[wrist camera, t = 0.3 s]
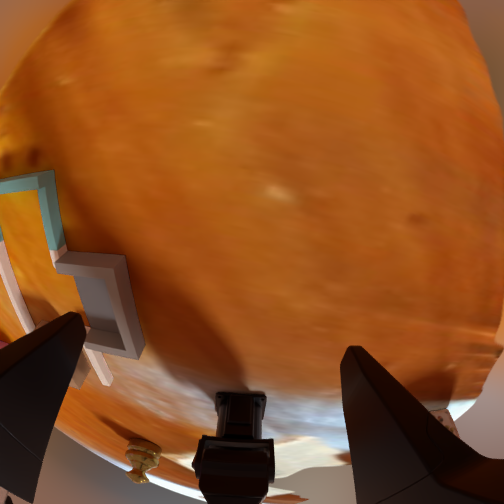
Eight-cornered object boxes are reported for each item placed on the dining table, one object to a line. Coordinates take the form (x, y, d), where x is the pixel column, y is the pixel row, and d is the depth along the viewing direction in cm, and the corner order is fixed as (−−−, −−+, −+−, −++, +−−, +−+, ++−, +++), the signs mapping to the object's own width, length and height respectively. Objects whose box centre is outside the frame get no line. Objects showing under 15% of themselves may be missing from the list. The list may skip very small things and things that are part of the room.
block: (91, 367, 32) (79, 389, 28) (62, 358, 32) (49, 378, 28) (72, 327, 28) (56, 350, 24) (42, 319, 28) (26, 339, 24)
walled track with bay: (159, 388, 32) (154, 402, 30) (48, 358, 32) (41, 368, 30) (114, 162, 19) (99, 168, 17) (-13, 182, 19) (-26, 188, 17)
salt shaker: (169, 452, 44) (161, 489, 35) (145, 451, 46) (136, 485, 37) (146, 437, 41) (135, 478, 33) (122, 436, 43) (111, 473, 34)
